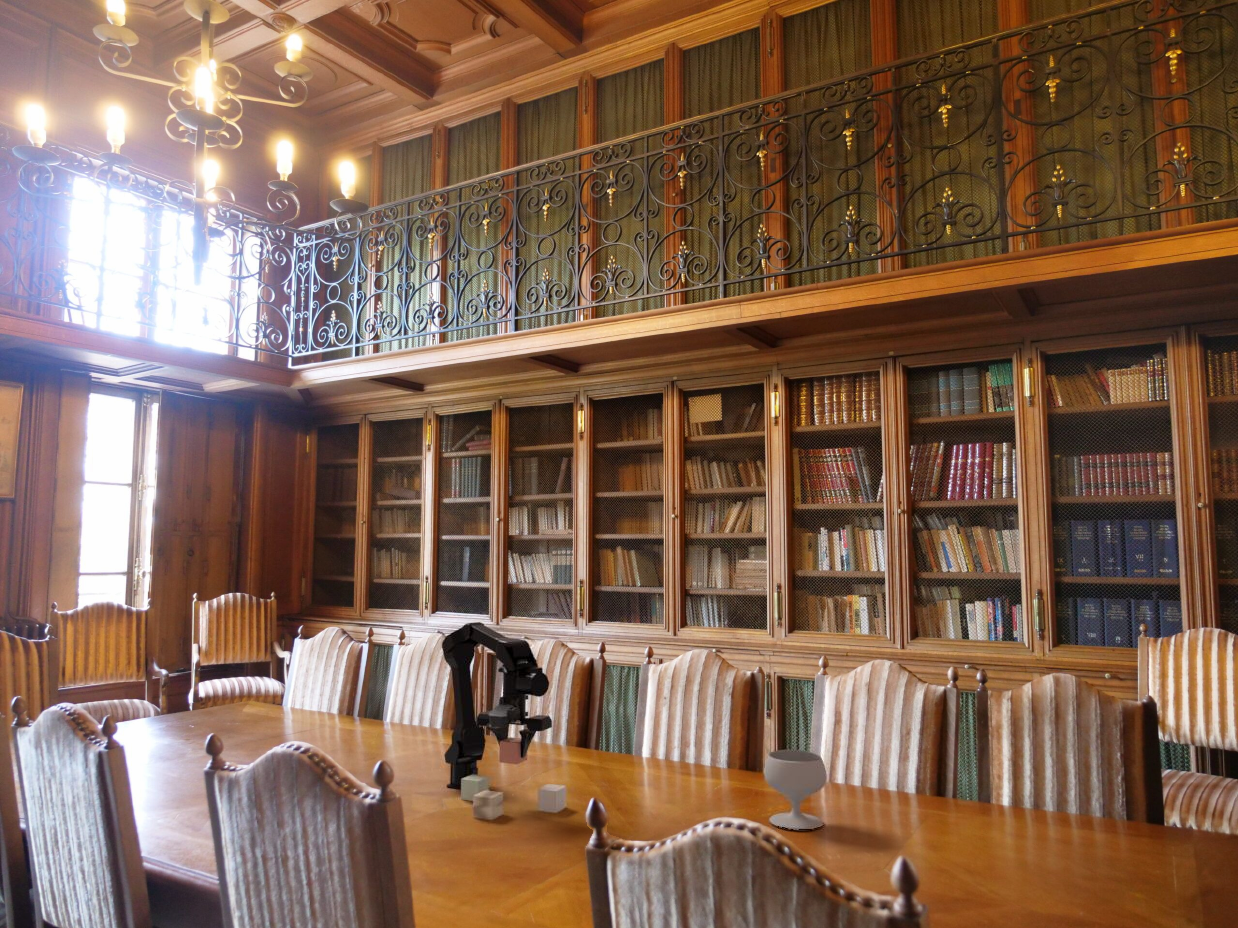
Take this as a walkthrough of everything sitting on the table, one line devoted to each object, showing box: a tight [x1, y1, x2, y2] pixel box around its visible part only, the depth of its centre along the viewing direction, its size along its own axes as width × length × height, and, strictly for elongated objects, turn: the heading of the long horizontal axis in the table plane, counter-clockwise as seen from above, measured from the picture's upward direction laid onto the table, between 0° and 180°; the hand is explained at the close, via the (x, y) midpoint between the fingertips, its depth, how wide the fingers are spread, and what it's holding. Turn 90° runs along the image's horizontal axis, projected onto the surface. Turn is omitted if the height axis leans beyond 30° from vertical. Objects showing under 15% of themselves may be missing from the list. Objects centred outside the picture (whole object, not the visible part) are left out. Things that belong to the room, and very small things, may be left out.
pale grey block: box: [537, 783, 567, 814], centre depth 201 cm, size 5×5×5 cm
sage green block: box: [460, 774, 490, 802], centre depth 210 cm, size 5×5×5 cm
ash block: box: [472, 790, 504, 821], centre depth 196 cm, size 5×5×5 cm
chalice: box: [763, 749, 828, 831], centre depth 191 cm, size 14×14×15 cm
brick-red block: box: [498, 736, 528, 765], centre depth 207 cm, size 5×5×5 cm
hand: (513, 756), depth 207 cm, fingers closed on brick-red block, 5 cm apart
